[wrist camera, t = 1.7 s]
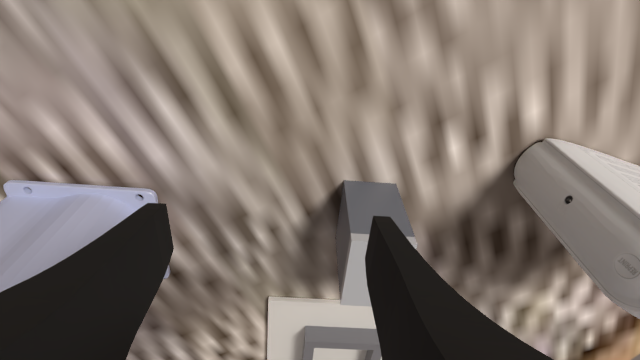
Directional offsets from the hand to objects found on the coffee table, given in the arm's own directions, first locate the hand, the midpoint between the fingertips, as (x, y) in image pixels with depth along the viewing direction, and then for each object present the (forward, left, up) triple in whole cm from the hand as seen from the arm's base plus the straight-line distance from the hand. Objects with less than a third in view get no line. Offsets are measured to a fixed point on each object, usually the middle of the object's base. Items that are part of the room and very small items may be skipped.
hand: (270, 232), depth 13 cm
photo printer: (+20, -3, -11) cm, 22 cm away
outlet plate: (+6, -23, -10) cm, 25 cm away
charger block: (+5, -7, -10) cm, 14 cm away
